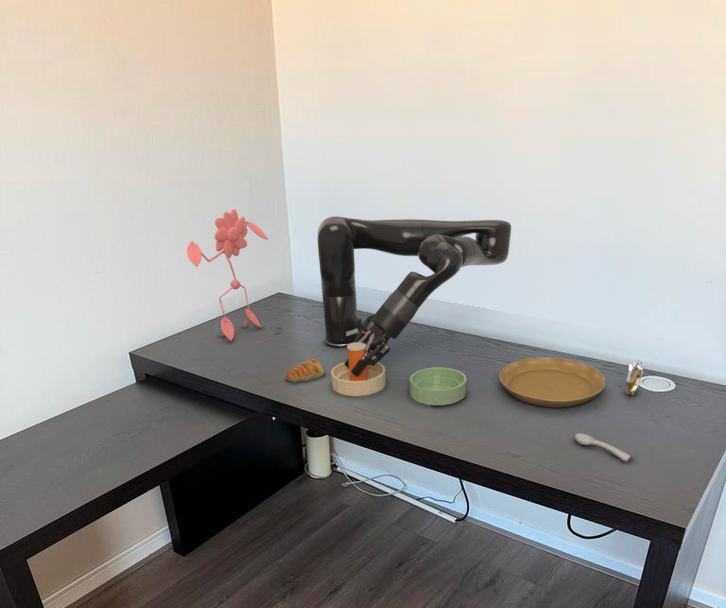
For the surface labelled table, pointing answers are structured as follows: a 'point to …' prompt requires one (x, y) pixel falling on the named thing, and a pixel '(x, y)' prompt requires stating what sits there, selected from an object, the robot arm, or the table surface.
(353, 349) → the cracker tube
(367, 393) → the oatmeal bowl
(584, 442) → the spoon
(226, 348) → the table surface
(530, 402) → the plant saucer
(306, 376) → the pastry
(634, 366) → the ring
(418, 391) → the sage bowl
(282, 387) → the table surface
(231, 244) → the figurine
